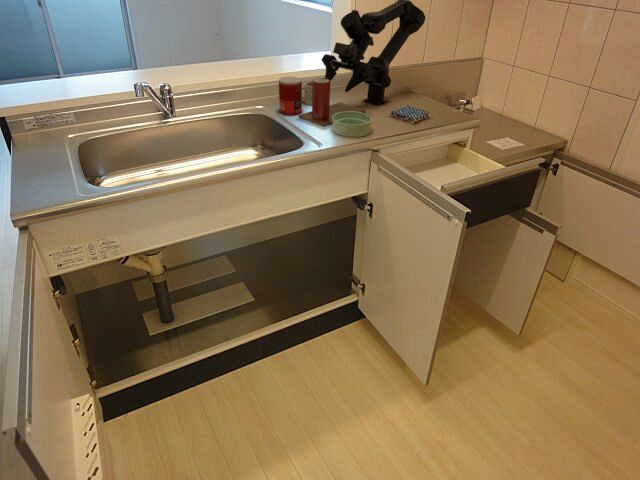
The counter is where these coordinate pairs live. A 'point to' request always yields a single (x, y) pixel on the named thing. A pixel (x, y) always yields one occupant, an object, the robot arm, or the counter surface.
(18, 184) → the counter surface
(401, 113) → the woven mat
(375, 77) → the robot arm
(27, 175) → the counter surface
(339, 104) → the cutting board
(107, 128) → the counter surface
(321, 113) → the drink can
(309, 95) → the mug
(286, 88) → the canned food
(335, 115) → the bowl
